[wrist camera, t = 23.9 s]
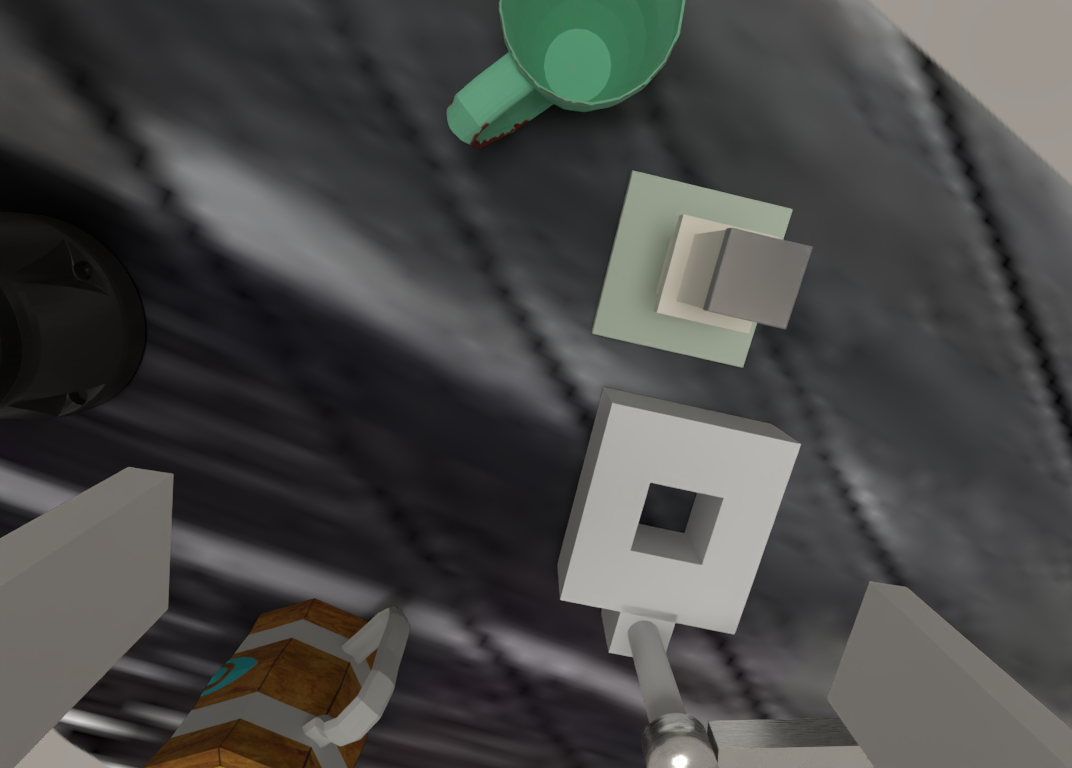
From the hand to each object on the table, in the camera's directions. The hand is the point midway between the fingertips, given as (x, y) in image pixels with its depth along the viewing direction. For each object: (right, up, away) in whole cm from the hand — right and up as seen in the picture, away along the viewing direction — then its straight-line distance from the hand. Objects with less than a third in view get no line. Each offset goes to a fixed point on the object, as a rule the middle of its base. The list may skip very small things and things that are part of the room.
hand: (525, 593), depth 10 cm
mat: (+12, +12, +31) cm, 36 cm away
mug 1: (-17, -19, +39) cm, 47 cm away
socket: (+10, -7, +36) cm, 38 cm away
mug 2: (+1, +25, +29) cm, 38 cm away
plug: (+12, +12, +31) cm, 35 cm away
